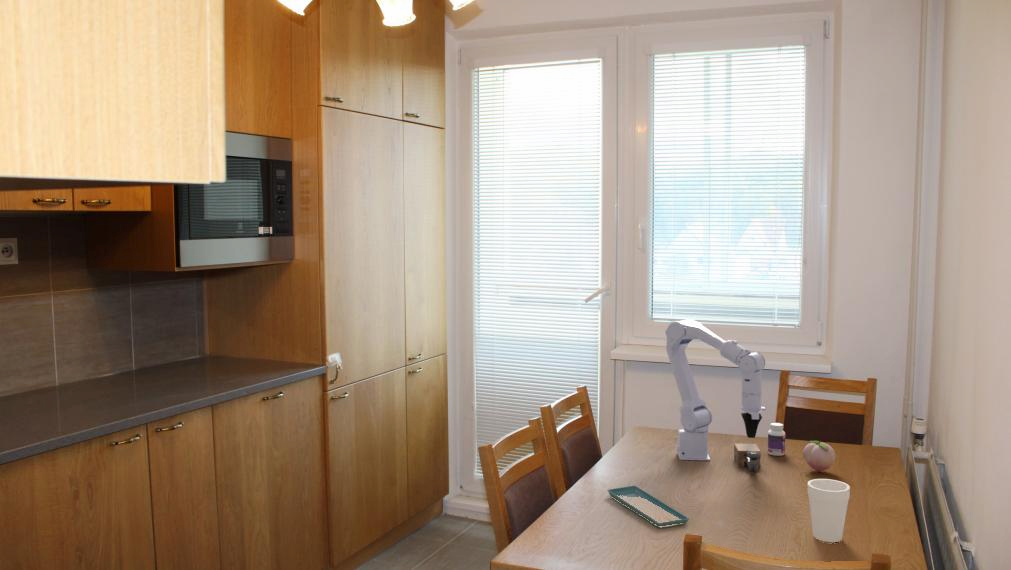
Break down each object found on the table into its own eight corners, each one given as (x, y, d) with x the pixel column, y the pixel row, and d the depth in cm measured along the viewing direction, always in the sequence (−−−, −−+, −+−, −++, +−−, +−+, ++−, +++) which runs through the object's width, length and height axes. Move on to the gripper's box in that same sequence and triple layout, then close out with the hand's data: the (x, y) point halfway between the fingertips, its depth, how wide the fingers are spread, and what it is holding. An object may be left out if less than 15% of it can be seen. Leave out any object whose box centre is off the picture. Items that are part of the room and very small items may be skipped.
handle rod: (747, 473, 241) (747, 455, 240) (738, 455, 258) (738, 438, 257) (761, 473, 240) (761, 455, 240) (751, 456, 257) (751, 439, 257)
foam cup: (799, 531, 199) (800, 479, 198) (836, 529, 199) (837, 477, 198) (817, 547, 189) (818, 492, 188) (856, 545, 190) (857, 490, 189)
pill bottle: (786, 456, 260) (786, 426, 259) (768, 455, 261) (769, 425, 260) (783, 451, 265) (784, 422, 265) (766, 451, 266) (767, 421, 266)
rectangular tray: (689, 526, 204) (690, 516, 204) (658, 531, 201) (658, 522, 201) (635, 493, 228) (635, 485, 228) (606, 498, 225) (606, 489, 225)
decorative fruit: (841, 474, 242) (842, 441, 241) (820, 478, 239) (820, 444, 238) (818, 465, 250) (819, 433, 249) (797, 469, 247) (798, 436, 246)
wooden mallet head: (738, 466, 250) (738, 450, 250) (734, 458, 258) (734, 443, 258) (760, 467, 249) (760, 451, 249) (755, 459, 257) (755, 444, 257)
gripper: (770, 398, 238) (769, 444, 239) (760, 388, 252) (760, 431, 253) (745, 398, 239) (744, 443, 240) (737, 387, 253) (736, 430, 254)
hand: (751, 437), depth 247 cm, fingers closed
